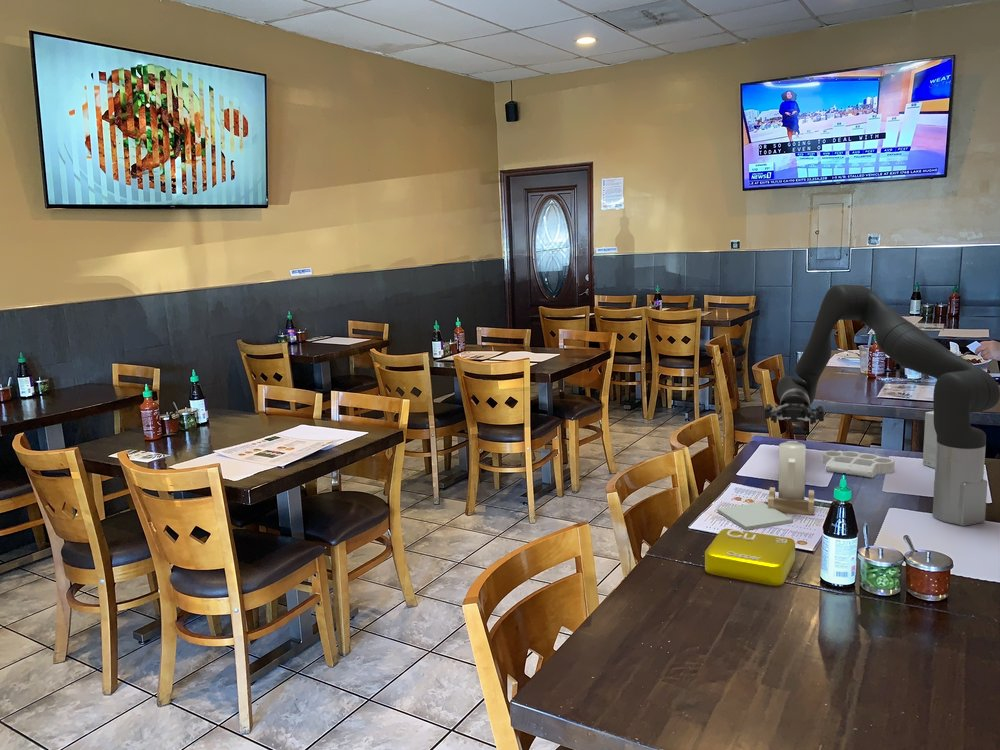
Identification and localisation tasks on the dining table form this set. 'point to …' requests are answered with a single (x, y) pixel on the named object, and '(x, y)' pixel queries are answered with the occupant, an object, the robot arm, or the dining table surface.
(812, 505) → the holder
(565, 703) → the dining table surface
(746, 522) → the plate
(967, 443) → the robot arm
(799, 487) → the jug
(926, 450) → the skincare box
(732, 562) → the element tile
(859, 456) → the knuckle duster
